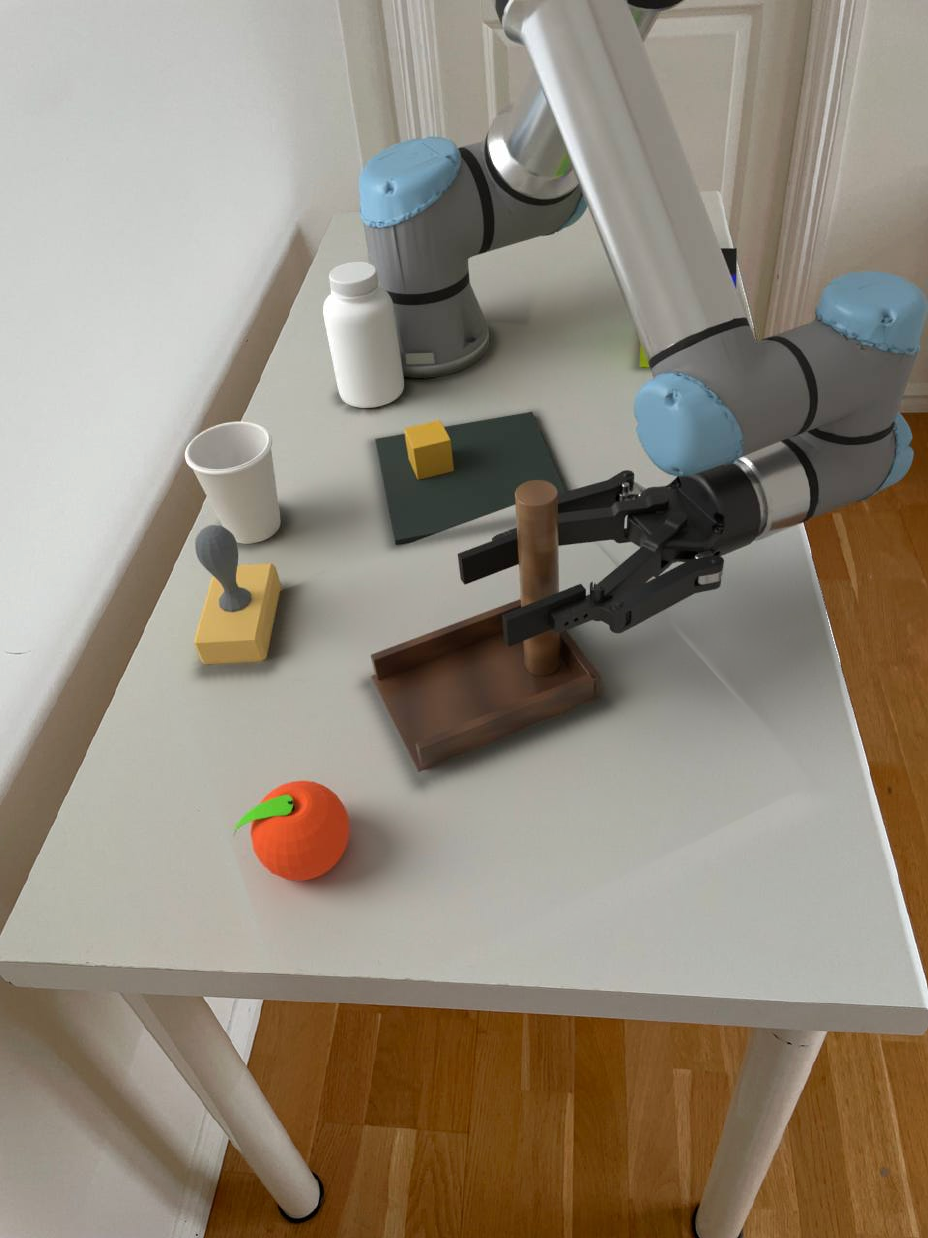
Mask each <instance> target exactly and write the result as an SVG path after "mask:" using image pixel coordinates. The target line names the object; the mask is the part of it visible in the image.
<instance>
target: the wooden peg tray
mask: <svg viewBox="0 0 928 1238" xmlns="http://www.w3.org/2000/svg"><path fill="white" fill-rule="evenodd" d="M515 520H516V527H517V539H518V557H519V564H518V571H519V572H518V573H519V574H518V575H519V590H520V591H519V593H520V598H519V599H517V600H514V601H511V602H509V603H506V604H503V605H500V606H498V607H495V608H492V609H490V610H487V611H485V612H482V613H479V614H476V615H473V616H470V617H468V618H465V619H463V620H460V621H458V622H455V623H452V624H449V625H447V626H444V627H441V628H439V629H436V630H433V631H431V632H428V633H426V634H422V635H420V636H417V637H414V638H412V639H409V640H406V641H404V642H401V643H399V644H396V645H393V646H390V647H388V648H385V649H382V650H380V651H377V652H374V653H372V654H371V653H370V659H371V664H372V668H373V672H374V674H373V675H371V676H370V678H371V680H372V683H373V685H374V687H375V688H376V690H377V693H378V695H379V696H380V698H381V700H382V702H383V705H384V708H385V709H386V710H387V712H388V714H389V717H390V718H391V721H392V722H393V725H394V727H395V729H396V731H397V733H398V734H399V735H398V736H399V737H400V739H401V740H402V742H403V744H404V747H405V749H406V750H407V753H408V755H409V756H410V759H411V761H412V763H413V764H414V765H413V766H414V767H415V769H416V770H417V772H422V771H424V770H427V769H429V768H431V767H435V766H437V765H439V764H441V763H444V762H446V761H449V760H451V759H454V758H456V757H458V756H461V755H464V754H466V753H468V752H472V751H473V750H476V749H478V748H481V747H483V746H486V745H488V744H491V743H493V742H495V741H497V740H500V739H502V738H505V737H507V736H510V735H512V734H515V733H517V732H520V731H522V730H525V729H527V728H529V727H532V726H534V725H537V724H540V723H542V722H545V721H547V720H549V719H551V718H554V717H556V716H559V715H561V714H564V713H566V712H568V711H571V710H573V709H576V708H579V707H582V706H583V705H585V704H588V703H591V702H593V701H595V700H598V699H600V698H601V696H602V676H601V675H600V672H599V671H598V670H597V669H596V668H595V667H594V665H593V664H592V662H591V661H590V659H589V658H588V657H587V656H586V654H585V653H584V651H583V650H582V649H581V648H580V646H579V645H578V644H577V642H576V641H575V639H574V638H573V637H572V635H571V634H570V632H569V630H566V631H564V632H558V633H555V632H554V630H553V629H552V630H549V631H547V632H544V633H542V634H539V635H537V636H534V637H532V638H530V639H527V640H525V641H522V642H520V643H517V644H515V645H512V646H510V647H508V645H507V644H506V642H505V641H504V633H503V620H502V615H503V614H505V613H508V612H510V611H513V610H516V609H518V608H521V607H523V606H526V605H528V604H531V603H533V602H536V601H538V600H541V599H543V598H546V597H548V596H551V595H553V594H556V593H558V592H560V558H559V556H560V555H559V554H560V553H559V551H560V550H559V549H560V548H559V546H558V492H557V489H556V487H555V486H554V485H553V484H551V483H549V482H547V481H543V480H532V481H528V482H525V483H523V484H521V485H520V486H519V487H518V488H517V489H516V492H515Z"/></svg>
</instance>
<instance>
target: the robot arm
mask: <svg viewBox="0 0 928 1238" xmlns="http://www.w3.org/2000/svg"><path fill="white" fill-rule="evenodd" d="M491 1H492V5H493V7H494V10H495V13H496V15H497V17H498V20H499V22H500V25H501V27H502V30H503V32H504V34H505V37H506V38H507V39H508V40H510V41H511V42H513V43H515V44H516V45H521V46H525V49H526V51H527V54H528V57H529V59H530V62H531V65H530V67H529V70H528V72H527V74H526V77H525V79H524V81H523V84H522V86H521V88H520V90H519V93H518V96H517V98H516V100H515V102H512V103H509V104H508V105H506V106H505V107H504V108H502V109H501V110H500V111H499V112H498V113H497V114H496V116H495V117H494V118H493V119H492V122H491V124H490V127H489V129H488V131H487V133H486V136H485V138H484V139H483V140H481V141H478V142H475V143H471V144H466V145H463V146H460V147H458V146H457V144H456V143H455V142H454V141H453V140H451V139H449V138H446V137H442V136H426V137H423V138H421V139H420V138H419V137H414V138H411V139H407V140H403V141H399V142H397V143H395V144H394V143H393V144H391V145H390V146H388V147H385V148H384V149H382V150H380V151H379V152H377V153H375V155H373V156H372V157H371V158H370V159H369V160H368V161H367V162H366V163H365V166H364V167H363V168H362V169H361V171H360V174H359V177H358V183H357V184H358V194H359V205H360V206H359V216H360V220H361V222H362V224H363V230H364V236H365V237H364V238H365V242H366V248H367V255H368V261H369V262H368V263H369V264H372V265H373V266H374V267H375V268H376V269H377V274H378V286H379V287H381V288H383V289H384V290H385V291H387V292H388V294H389V295H390V297H391V299H392V302H393V307H394V314H395V321H396V328H397V335H398V342H399V349H400V356H401V363H402V370H403V377H404V378H411V379H413V378H414V379H423V378H424V379H427V378H435V377H442V376H447V375H450V374H454V373H456V372H459V371H462V370H464V369H466V368H468V367H470V366H472V365H473V364H475V363H476V362H478V361H480V359H481V358H482V357H483V356H484V355H485V354H486V352H487V351H488V349H489V347H490V334H489V326H488V323H487V319H486V317H485V315H484V313H483V311H482V308H481V305H480V304H479V301H478V299H477V296H476V294H475V292H474V290H473V287H472V284H471V281H470V280H471V279H470V269H469V259H470V258H472V257H475V256H476V257H477V256H478V255H482V254H485V253H488V252H492V251H495V250H498V249H501V248H504V247H508V246H509V247H510V246H512V245H516V244H519V243H521V242H526V241H528V240H532V239H535V238H538V237H545V236H551V235H554V234H555V233H559V232H561V231H562V230H564V229H565V228H568V227H572V225H574V224H576V222H578V221H579V220H580V219H581V218H582V216H583V215H584V214H585V213H586V211H587V210H588V212H589V214H590V216H591V219H592V222H593V225H594V227H595V229H596V232H597V235H598V237H599V240H600V242H601V245H602V248H603V250H604V252H605V255H606V258H607V260H608V263H609V265H610V268H611V271H612V274H613V276H614V279H615V281H616V283H617V286H618V288H619V292H620V294H621V297H622V299H623V303H624V305H625V307H626V309H627V312H628V315H629V317H630V320H631V322H632V325H633V327H634V329H635V332H636V336H637V338H638V341H639V342H640V346H641V345H642V348H643V351H644V353H645V356H646V358H647V361H648V363H649V366H650V368H649V369H650V370H651V374H652V378H651V379H649V380H648V381H646V382H644V383H643V384H642V386H641V387H640V388H639V390H638V391H637V393H636V395H635V399H634V403H633V404H634V405H633V414H634V418H635V419H636V423H637V426H636V430H635V431H636V435H637V437H638V441H639V443H640V445H641V447H642V449H643V452H645V454H646V455H647V457H648V459H649V460H650V461H651V462H652V463H653V464H654V465H655V466H656V467H657V469H659V470H660V471H662V472H664V473H666V474H668V475H669V476H673V477H675V478H674V479H673V480H672V481H671V482H670V483H668V484H667V485H661V486H651V487H647V488H646V487H644V486H642V485H641V484H639V483H638V482H636V481H635V472H634V471H632V470H629V469H625V470H622V471H621V472H619V473H616V474H615V475H614V476H612V477H610V478H608V479H606V480H603V481H599V482H596V483H591V484H588V485H584V486H582V487H578V488H574V489H569V490H565V491H566V492H563V493H559V494H558V547H561V546H570V545H578V544H586V543H595V542H605V541H614V542H615V543H617V544H627V543H633V544H634V545H636V546H637V547H638V548H639V549H637V550H636V551H635V552H633V553H632V554H631V555H630V556H629V557H628V558H627V559H625V560H624V561H623V562H621V564H619V565H618V566H617V567H615V568H614V570H612V571H611V572H610V573H608V574H607V576H605V577H603V579H601V580H600V581H599V582H598V583H595V582H593V581H590V583H589V594H587V589H586V587H585V586H584V585H583V584H582V583H579V584H576V585H574V586H571V587H569V588H566V589H563V590H561V591H559V592H558V593H556V594H553V595H551V596H548V597H546V598H543V599H541V600H538V601H536V602H533V603H531V604H528V605H526V606H523V607H521V608H518V609H516V610H513V611H510V612H508V613H505V614H503V615H502V620H503V633H504V641H505V642H506V644H507V645H508V647H510V646H512V645H515V644H517V643H520V642H522V641H525V640H527V639H530V638H532V637H534V636H537V635H539V634H542V633H544V632H547V631H549V630H552V629H553V630H554V632H555V633H558V632H564V631H566V630H567V631H570V630H571V629H574V628H577V627H578V626H580V625H583V624H586V623H588V622H591V621H594V622H603V623H604V624H606V625H608V626H609V631H610V632H611V633H614V634H622V633H624V632H626V631H628V630H630V629H633V628H634V627H636V626H637V625H639V624H641V623H643V622H645V621H647V620H648V619H650V618H652V617H654V616H657V615H658V614H660V613H661V612H663V611H665V610H667V609H669V608H671V607H672V606H675V605H676V604H678V603H681V602H682V601H684V600H686V599H688V598H689V597H691V596H692V595H695V594H699V593H704V592H710V591H714V590H717V589H719V588H720V587H721V586H722V585H721V584H722V579H723V571H724V565H725V559H724V558H723V556H724V555H727V554H731V553H733V552H735V551H737V550H740V549H743V548H745V547H747V546H749V545H751V544H752V543H753V542H758V541H760V540H763V539H765V538H769V537H771V536H773V535H775V534H778V533H781V532H783V531H785V530H788V529H790V528H793V527H795V526H798V525H800V524H803V523H805V522H807V521H809V520H811V519H814V518H816V517H819V516H821V515H824V514H826V513H829V512H832V511H835V510H837V509H839V508H843V507H845V506H848V505H850V504H855V503H859V502H863V501H866V500H868V499H870V498H871V497H872V496H874V495H876V494H877V493H879V492H881V491H883V490H885V489H887V488H889V487H891V486H893V485H895V484H896V483H898V482H900V481H901V480H902V479H903V478H904V477H905V476H906V475H907V473H908V471H909V470H910V468H911V466H912V463H913V460H914V454H915V452H914V450H913V448H912V440H913V434H912V430H911V428H910V426H909V423H908V422H907V420H906V419H905V418H904V416H903V415H902V414H901V413H900V412H899V408H900V406H901V403H902V400H903V397H904V394H905V391H906V388H907V386H908V382H909V379H910V376H911V373H912V370H913V368H914V365H915V361H916V359H917V355H918V354H919V352H920V351H921V347H922V346H921V339H922V334H923V332H924V327H925V324H926V320H927V319H926V318H927V315H928V300H927V297H926V294H925V293H924V291H923V290H922V289H921V288H920V287H919V286H918V285H916V283H913V282H910V281H909V280H907V279H905V278H904V277H902V276H901V275H898V274H893V273H889V272H884V271H878V270H861V271H853V272H848V273H845V274H842V275H839V276H837V277H836V278H833V280H832V281H831V282H830V283H829V284H828V285H827V286H826V287H825V288H824V289H823V290H822V292H821V295H820V299H819V301H818V304H817V306H816V307H815V308H814V309H815V310H814V314H815V317H814V319H813V321H811V322H808V323H805V324H802V325H799V326H795V327H794V328H793V327H792V328H791V329H788V330H785V331H782V332H779V333H777V334H774V335H772V336H768V337H765V338H763V339H760V340H757V339H756V337H755V334H754V331H753V329H752V327H751V325H750V323H749V319H748V317H747V315H746V312H745V309H744V306H743V304H742V301H741V298H740V296H739V293H738V291H737V287H736V288H735V285H734V282H733V280H732V277H731V274H730V272H729V269H728V267H727V264H726V261H725V259H724V256H723V253H722V251H721V248H722V247H721V244H720V243H719V240H718V238H717V235H716V232H715V230H714V227H713V225H712V222H711V219H710V216H709V214H708V211H707V209H706V205H705V203H704V201H703V198H702V195H701V192H700V190H699V187H698V185H697V181H696V179H695V176H694V174H693V172H692V169H691V166H690V163H689V161H688V158H687V155H686V153H685V151H684V150H685V149H684V148H683V145H682V143H681V140H680V137H679V135H678V131H677V129H676V126H675V124H674V122H673V119H672V115H671V113H670V111H669V108H668V105H667V102H666V100H665V97H664V95H663V92H662V89H661V86H660V84H659V82H658V79H657V76H656V74H655V71H654V68H653V66H652V63H651V60H650V58H649V54H648V53H647V50H646V47H645V45H644V43H645V41H646V40H647V37H648V36H649V34H650V32H651V30H652V29H653V27H654V25H655V24H656V22H657V20H658V18H659V16H660V15H661V13H662V12H665V11H668V10H670V9H673V8H675V7H678V6H679V5H681V4H683V3H684V2H685V1H686V0H491ZM625 522H626V526H625ZM457 560H458V568H459V569H458V570H459V577H460V580H461V582H462V583H463V585H464V586H465V585H469V584H472V583H474V582H476V581H479V580H482V579H484V578H486V577H489V576H492V575H494V574H497V573H499V572H502V571H505V570H508V569H510V568H513V567H515V566H517V565H518V566H519V557H518V539H517V526H516V527H514V528H511V529H509V530H506V531H503V532H501V533H497V534H495V535H494V536H493V537H492V538H491V541H488V542H485V543H483V544H480V545H478V546H477V545H476V546H475V547H472V548H469V549H466V550H464V551H462V552H459V553H457ZM676 563H681V564H679V565H677V566H675V567H673V568H671V569H669V567H671V565H673V564H676ZM667 569H669V570H668V571H666V570H667Z"/></svg>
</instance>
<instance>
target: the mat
mask: <svg viewBox="0 0 928 1238" xmlns="http://www.w3.org/2000/svg"><path fill="white" fill-rule="evenodd" d="M444 428H445V430H446V432H447V434H448V436H449V438H450V440H451V449H452V457H453V466H454V471H452V472H448V473H444V474H440V475H436V476H432V477H428V478H424V479H420V480H418V479H417V477H416V474H415V472H414V470H413V468H412V466H411V463H410V461H409V458H408V452H407V445H406V438H405V433H401V434H395V435H388V436H383V437H378V438H375V440H374V441H375V445H376V452H377V455H378V461H379V466H380V472H381V477H382V481H383V486H384V493H385V497H386V502H387V507H388V513H389V517H390V518H389V519H390V523H391V528H392V534H393V538H394V544H395V545H400V544H407V543H412V542H417V541H419V540H423V539H425V538H429V537H431V536H434V535H437V534H439V533H441V532H444V531H447V530H449V529H452V528H455V527H458V526H461V525H463V524H466V523H470V522H471V521H474V520H477V519H480V518H483V517H485V516H489V515H491V514H494V513H496V512H500V511H501V510H504V509H507V508H510V507H513V506H516V504H515V492H516V489H517V488H518V487H519V486H520V485H521V484H523V483H525V482H528V481H532V480H543V481H547V482H549V483H551V484H553V485H554V486H555V487H556V489H557V492H558V494H559V493H563V492H566V491H567V490H566V488H565V486H564V484H563V481H562V479H561V477H560V475H559V472H558V469H557V468H556V465H555V463H554V461H553V457H552V455H551V453H550V451H549V448H548V446H547V444H546V441H545V439H544V437H543V434H542V432H541V430H540V427H539V425H538V422H537V420H536V418H535V415H534V413H533V411H529V412H528V411H527V412H522V413H516V414H510V415H505V416H499V417H493V418H488V419H481V420H476V421H470V422H464V423H459V424H452V425H447V426H444Z"/></svg>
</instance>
